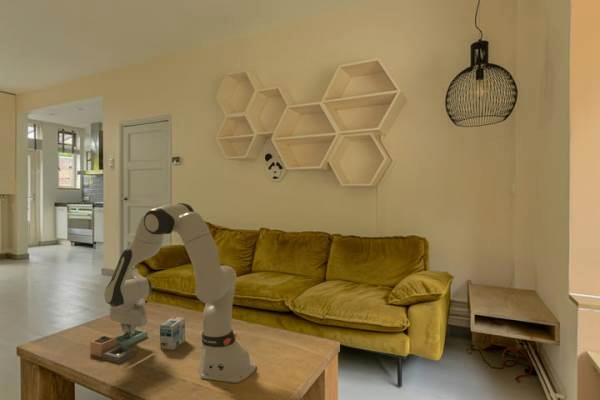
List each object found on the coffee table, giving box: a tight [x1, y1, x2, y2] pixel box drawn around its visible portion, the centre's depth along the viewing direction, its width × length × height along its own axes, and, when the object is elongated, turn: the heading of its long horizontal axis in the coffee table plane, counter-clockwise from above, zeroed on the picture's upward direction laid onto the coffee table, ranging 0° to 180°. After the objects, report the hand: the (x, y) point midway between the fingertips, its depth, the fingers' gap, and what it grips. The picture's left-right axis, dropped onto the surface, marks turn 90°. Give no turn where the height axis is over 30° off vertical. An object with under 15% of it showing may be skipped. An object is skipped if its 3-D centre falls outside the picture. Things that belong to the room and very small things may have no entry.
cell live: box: [123, 324, 133, 339], centre depth 154 cm, size 3×3×6 cm
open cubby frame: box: [89, 335, 116, 358], centre depth 143 cm, size 7×7×6 cm
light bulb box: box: [159, 316, 186, 351], centre depth 152 cm, size 11×7×11 cm, turn 168°
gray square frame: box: [101, 345, 137, 364], centre depth 139 cm, size 10×8×3 cm
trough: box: [114, 328, 148, 347], centre depth 154 cm, size 8×14×3 cm, turn 157°
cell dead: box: [99, 335, 108, 343], centre depth 143 cm, size 3×3×6 cm
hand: (128, 332), depth 154 cm, fingers closed on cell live, 3 cm apart
